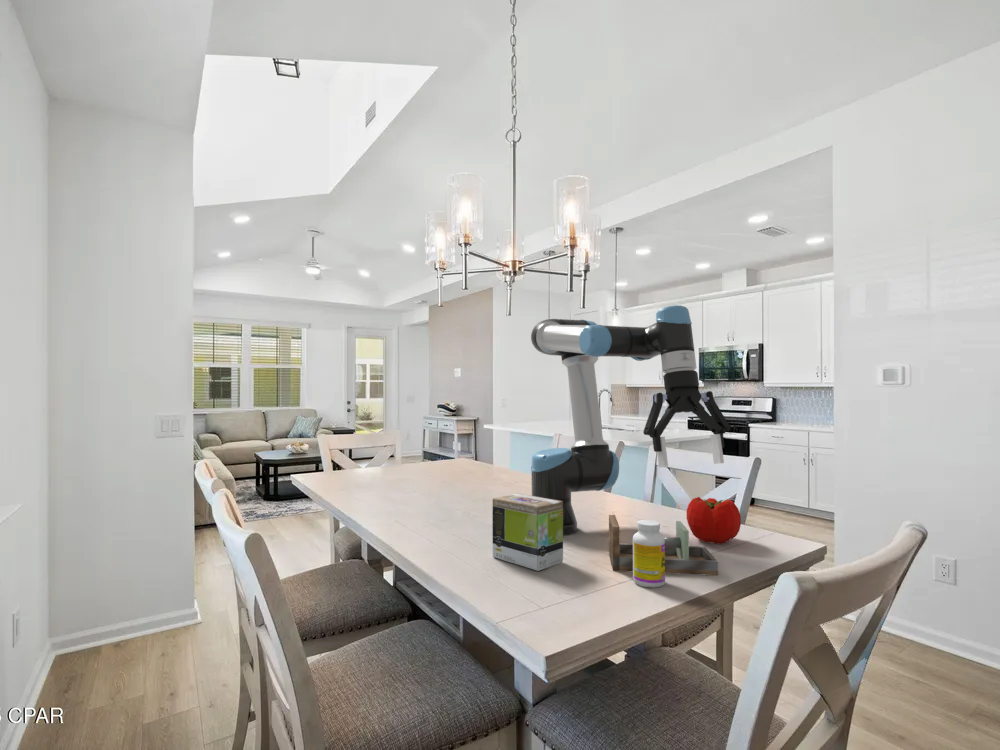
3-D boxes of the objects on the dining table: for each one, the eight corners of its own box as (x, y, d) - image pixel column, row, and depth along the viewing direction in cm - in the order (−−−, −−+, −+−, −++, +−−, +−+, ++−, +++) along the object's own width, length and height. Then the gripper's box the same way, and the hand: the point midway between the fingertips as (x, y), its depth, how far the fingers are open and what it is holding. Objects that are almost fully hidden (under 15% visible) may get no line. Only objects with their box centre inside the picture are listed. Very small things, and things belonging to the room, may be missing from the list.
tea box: (564, 562, 124) (564, 500, 125) (537, 572, 117) (537, 507, 117) (518, 548, 135) (518, 491, 135) (490, 557, 128) (490, 497, 128)
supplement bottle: (666, 589, 107) (666, 527, 107) (633, 587, 108) (633, 525, 109) (663, 578, 114) (662, 519, 114) (632, 576, 115) (631, 517, 115)
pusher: (666, 565, 118) (665, 530, 118) (659, 553, 127) (659, 520, 127) (689, 566, 117) (688, 530, 118) (680, 554, 126) (680, 521, 126)
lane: (612, 570, 118) (612, 526, 119) (609, 555, 129) (608, 514, 130) (718, 575, 115) (717, 530, 116) (705, 559, 126) (704, 517, 127)
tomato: (747, 540, 142) (747, 497, 142) (726, 552, 132) (725, 505, 132) (700, 531, 151) (699, 490, 151) (677, 541, 141) (676, 498, 142)
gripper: (636, 369, 114) (647, 467, 110) (738, 367, 119) (752, 461, 115) (622, 376, 121) (632, 468, 117) (718, 374, 126) (731, 462, 122)
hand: (691, 465), depth 116 cm, fingers open, 13 cm apart
